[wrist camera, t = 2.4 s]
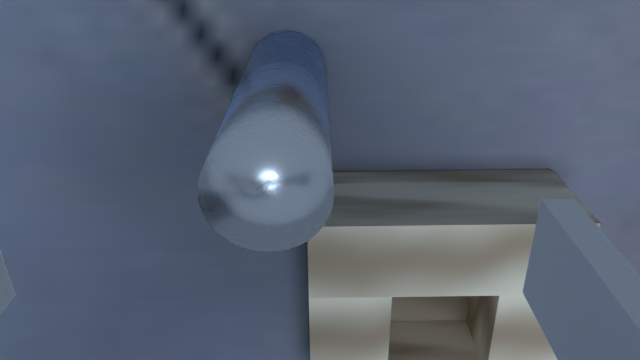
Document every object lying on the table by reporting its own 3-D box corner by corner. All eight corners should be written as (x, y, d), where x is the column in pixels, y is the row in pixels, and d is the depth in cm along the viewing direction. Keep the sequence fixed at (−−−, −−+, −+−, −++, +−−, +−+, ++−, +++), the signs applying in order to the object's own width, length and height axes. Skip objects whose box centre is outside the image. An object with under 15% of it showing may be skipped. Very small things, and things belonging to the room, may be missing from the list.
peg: (325, 105, 29) (333, 251, 17) (251, 105, 29) (204, 252, 17) (325, 29, 28) (334, 130, 15) (246, 30, 28) (189, 132, 15)
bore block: (514, 351, 37) (548, 426, 32) (312, 354, 37) (311, 429, 32) (551, 169, 31) (601, 223, 26) (308, 172, 31) (307, 226, 26)
